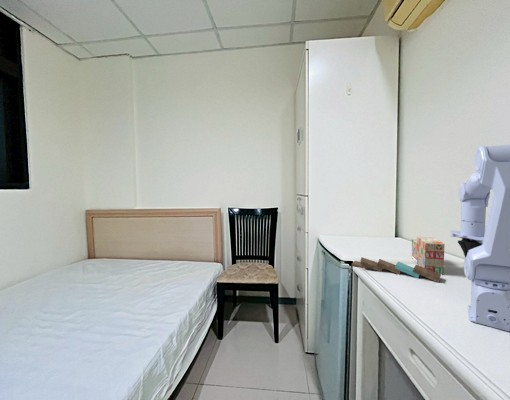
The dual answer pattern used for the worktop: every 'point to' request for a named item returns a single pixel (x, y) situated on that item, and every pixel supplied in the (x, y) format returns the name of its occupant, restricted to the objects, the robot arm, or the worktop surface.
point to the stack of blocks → (429, 253)
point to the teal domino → (406, 269)
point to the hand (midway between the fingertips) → (471, 263)
